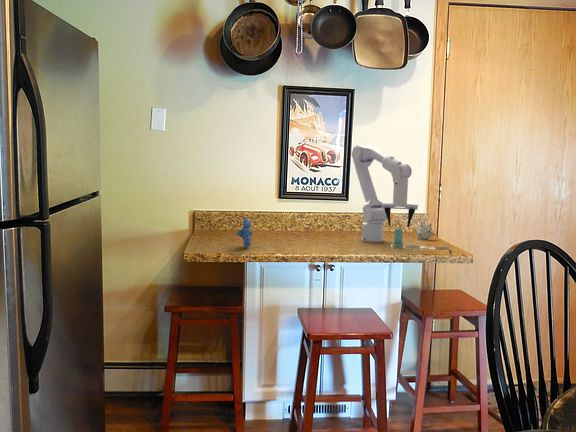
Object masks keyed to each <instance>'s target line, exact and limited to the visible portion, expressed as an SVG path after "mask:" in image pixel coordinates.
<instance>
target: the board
mask: <svg viewBox="0 0 576 432" xmlns="http://www.w3.org/2000/svg"><path fill="white" fill-rule="evenodd" d="M390 247H391V248H395V247H394V246H392V244H390ZM401 248H403V249H404V248H406V249H423V250H424V249H425V250H442V251H448V252H449V254H452V250H451V248H450V247H449V246H429V245H409V244H404V246H403V247H400V249H401Z"/></svg>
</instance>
